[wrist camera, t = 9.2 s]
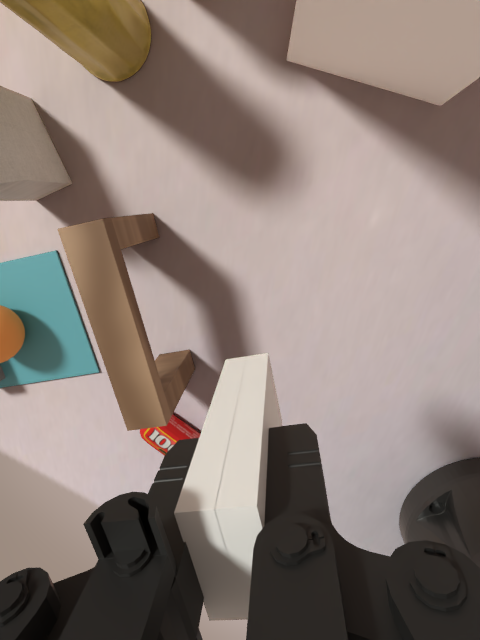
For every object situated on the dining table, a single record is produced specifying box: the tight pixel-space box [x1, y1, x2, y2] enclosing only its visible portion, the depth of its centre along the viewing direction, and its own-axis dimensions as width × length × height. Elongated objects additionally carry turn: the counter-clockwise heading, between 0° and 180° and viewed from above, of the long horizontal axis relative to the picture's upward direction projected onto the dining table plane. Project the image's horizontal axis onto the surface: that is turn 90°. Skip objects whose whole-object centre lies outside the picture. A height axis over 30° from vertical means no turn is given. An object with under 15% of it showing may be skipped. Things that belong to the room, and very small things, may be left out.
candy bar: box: [140, 414, 200, 455], centre depth 36 cm, size 16×4×3 cm, turn 52°
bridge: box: [58, 213, 195, 431], centre depth 28 cm, size 3×14×9 cm, turn 12°
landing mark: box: [0, 251, 100, 388], centre depth 35 cm, size 12×12×1 cm
